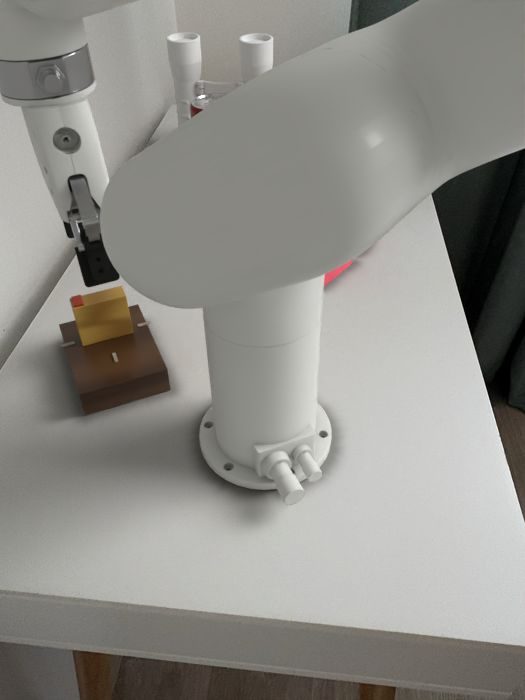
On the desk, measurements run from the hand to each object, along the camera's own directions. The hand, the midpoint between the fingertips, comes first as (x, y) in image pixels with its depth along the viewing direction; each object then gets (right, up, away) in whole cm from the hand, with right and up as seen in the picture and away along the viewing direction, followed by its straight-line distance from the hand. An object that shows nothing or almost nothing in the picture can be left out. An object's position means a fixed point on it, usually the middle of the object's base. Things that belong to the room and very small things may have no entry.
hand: (92, 256), depth 61 cm
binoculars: (+10, +27, +51) cm, 58 cm away
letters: (+25, +3, +23) cm, 34 cm away
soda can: (+9, +19, +42) cm, 47 cm away
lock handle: (0, -7, +7) cm, 10 cm away
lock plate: (+1, -11, +8) cm, 13 cm away
